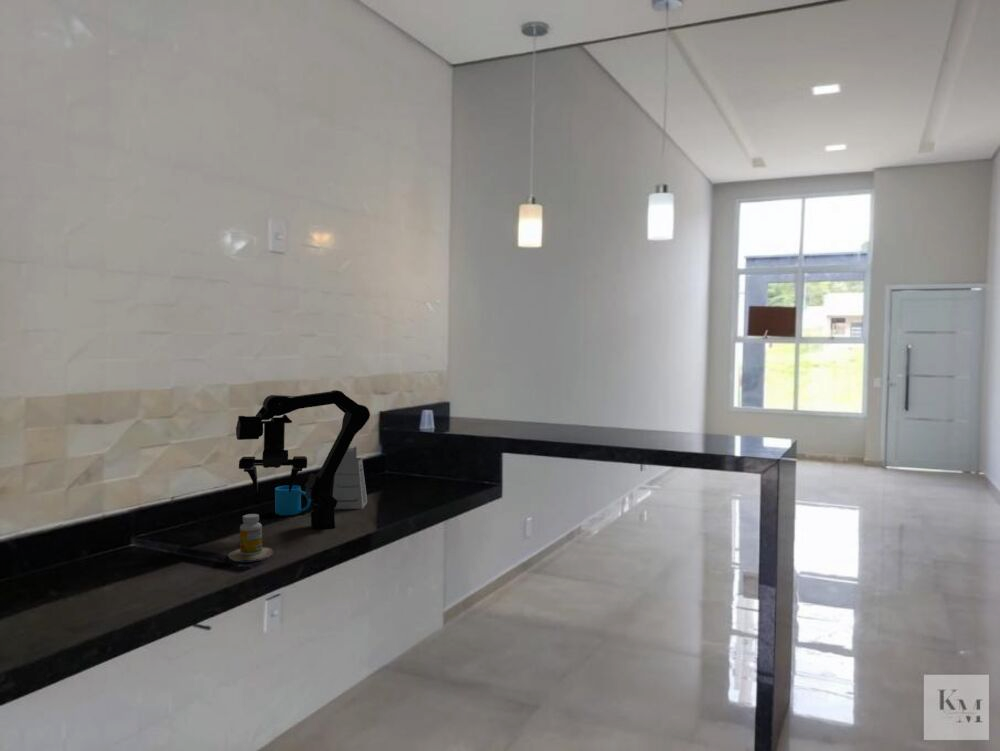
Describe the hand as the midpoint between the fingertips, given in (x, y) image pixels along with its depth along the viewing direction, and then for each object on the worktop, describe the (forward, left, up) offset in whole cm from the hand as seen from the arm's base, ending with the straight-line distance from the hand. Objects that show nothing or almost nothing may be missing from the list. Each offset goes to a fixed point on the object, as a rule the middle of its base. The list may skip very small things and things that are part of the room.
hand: (273, 491), depth 212 cm
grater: (-22, -32, -12) cm, 40 cm away
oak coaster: (+4, +23, -12) cm, 27 cm away
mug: (-4, -25, -12) cm, 28 cm away
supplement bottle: (+4, +23, -11) cm, 26 cm away
